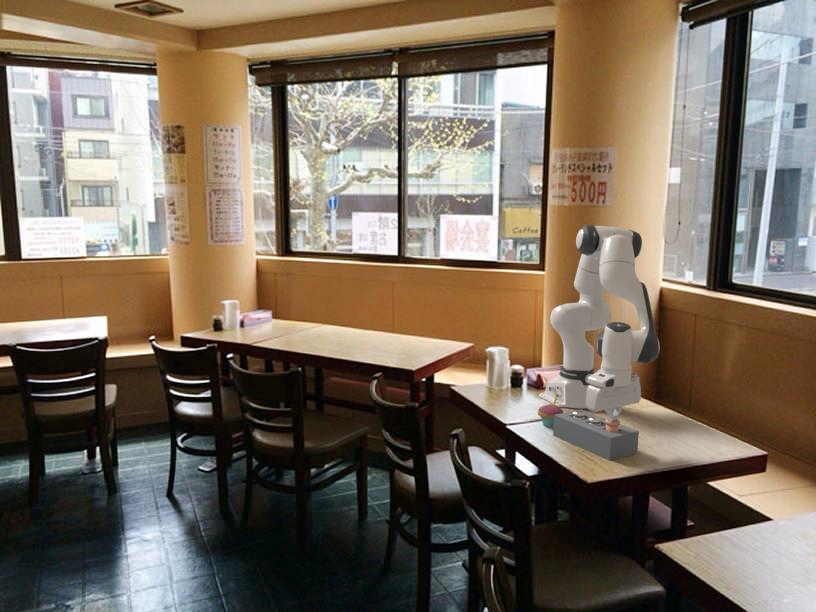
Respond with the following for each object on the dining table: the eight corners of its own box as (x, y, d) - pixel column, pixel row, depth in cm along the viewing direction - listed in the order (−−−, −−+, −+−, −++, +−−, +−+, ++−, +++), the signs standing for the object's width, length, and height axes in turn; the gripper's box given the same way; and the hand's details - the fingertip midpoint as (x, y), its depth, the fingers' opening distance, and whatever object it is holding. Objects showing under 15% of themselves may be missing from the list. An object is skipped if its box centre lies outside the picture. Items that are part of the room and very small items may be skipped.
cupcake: (555, 420, 225) (557, 387, 223) (567, 428, 217) (569, 394, 215) (533, 422, 223) (534, 388, 221) (544, 430, 215) (545, 395, 213)
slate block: (553, 435, 210) (554, 414, 209) (579, 429, 216) (581, 409, 215) (609, 460, 190) (610, 437, 189) (637, 453, 196) (638, 431, 195)
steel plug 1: (568, 434, 210) (569, 411, 208) (577, 432, 212) (579, 409, 210) (577, 438, 206) (579, 415, 205) (587, 436, 208) (588, 413, 207)
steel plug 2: (584, 441, 204) (585, 417, 202) (593, 439, 206) (595, 415, 204) (594, 445, 200) (595, 421, 199) (603, 443, 202) (605, 419, 201)
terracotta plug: (601, 444, 197) (602, 419, 196) (610, 441, 199) (612, 417, 198) (611, 448, 194) (613, 423, 193) (621, 446, 196) (622, 421, 195)
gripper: (631, 370, 201) (628, 412, 203) (583, 378, 191) (581, 422, 193) (647, 374, 196) (644, 418, 198) (599, 383, 186) (596, 429, 188)
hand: (612, 420), depth 195 cm, fingers closed, pressing on terracotta plug
